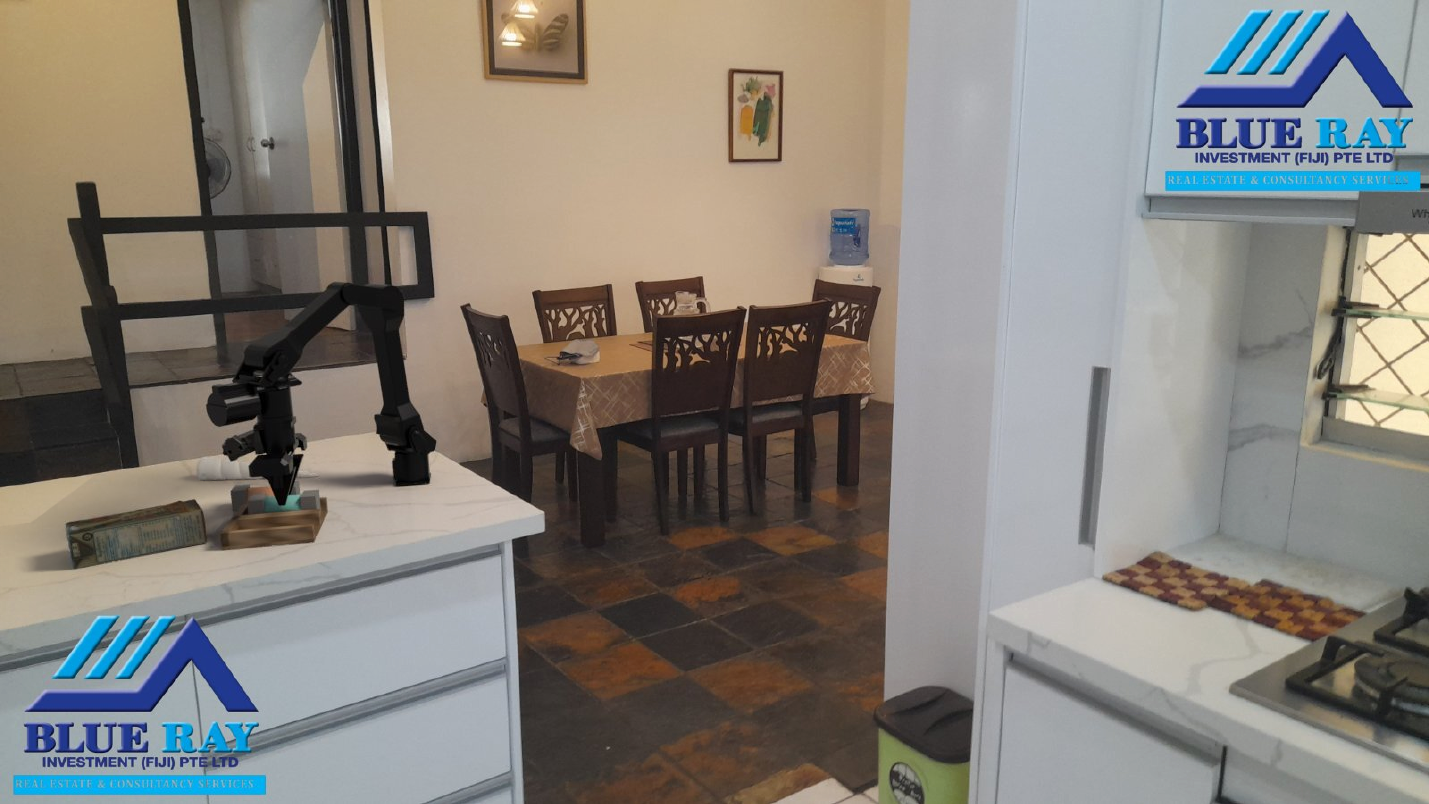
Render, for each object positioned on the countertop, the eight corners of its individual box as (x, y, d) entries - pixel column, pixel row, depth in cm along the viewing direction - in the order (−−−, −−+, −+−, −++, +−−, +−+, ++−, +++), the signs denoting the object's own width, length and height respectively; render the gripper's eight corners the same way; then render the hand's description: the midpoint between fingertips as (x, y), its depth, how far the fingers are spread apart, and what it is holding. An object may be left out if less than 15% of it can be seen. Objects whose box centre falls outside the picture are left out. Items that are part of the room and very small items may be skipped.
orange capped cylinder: (300, 500, 181) (298, 480, 180) (297, 506, 177) (295, 486, 176) (237, 504, 178) (235, 485, 178) (232, 511, 175) (230, 491, 174)
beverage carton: (68, 556, 154) (62, 517, 152) (202, 531, 165) (197, 495, 164) (72, 571, 148) (65, 531, 146) (210, 544, 159) (205, 506, 157)
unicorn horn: (311, 483, 192) (309, 459, 191) (195, 483, 193) (192, 460, 192) (321, 476, 197) (319, 453, 196) (208, 476, 197) (205, 454, 196)
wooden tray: (327, 511, 174) (326, 497, 173) (314, 542, 159) (312, 526, 158) (244, 518, 171) (242, 503, 170) (221, 550, 155) (219, 533, 155)
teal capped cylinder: (320, 509, 171) (318, 489, 171) (317, 516, 168) (315, 496, 167) (254, 515, 169) (251, 494, 168) (249, 522, 165) (246, 501, 164)
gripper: (236, 406, 171) (246, 489, 175) (209, 430, 154) (221, 523, 157) (303, 402, 174) (311, 484, 177) (284, 426, 156) (293, 517, 160)
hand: (284, 501), depth 168 cm, fingers open, 4 cm apart
